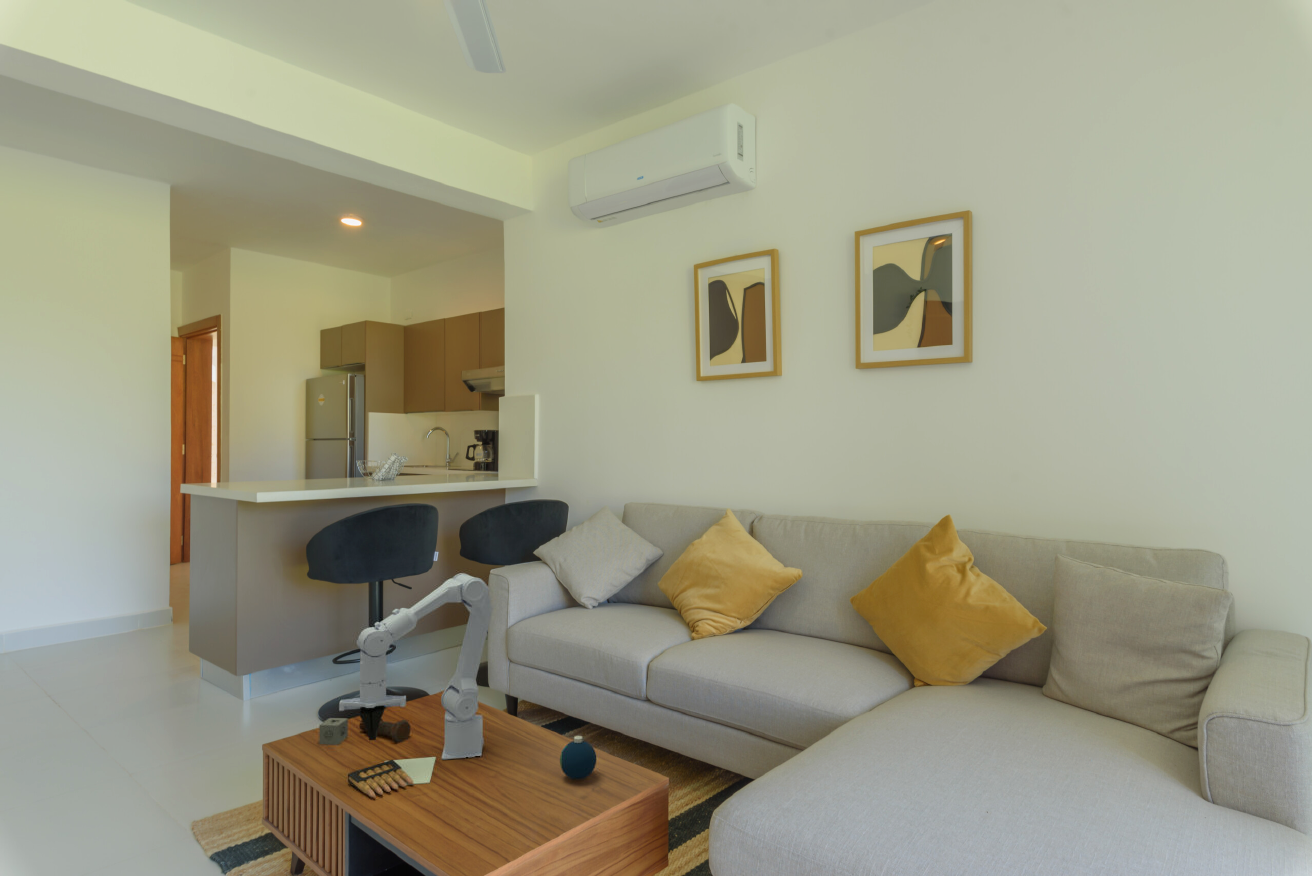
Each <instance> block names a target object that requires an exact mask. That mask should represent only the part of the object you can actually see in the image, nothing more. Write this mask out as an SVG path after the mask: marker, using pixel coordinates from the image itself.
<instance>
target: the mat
mask: <svg viewBox="0 0 1312 876" xmlns="http://www.w3.org/2000/svg"><path fill="white" fill-rule="evenodd" d="M436 759H437V757H436V756H430V757H416V758H406V759H392V760H393V761H395V762H396V763H397V764H398V765H399V766H400V767H401V768H402V770H403V771H404V772H405V773H407V775H408V776H409V777H410V778H411V779H412V780H413V784H409V783H407V782H405V781H404V780H403V781H404V782H405V784H406V786H409V785H411V786H412V785H422V784H430V782H431V778H432V775H433V770H434V766H435V764H436ZM386 761H387V760H384V762H386ZM401 768H400V769H401ZM396 784H397V783H396ZM397 786H398V787H399V786H400V785H399V784H397ZM400 787H401V786H400Z"/></svg>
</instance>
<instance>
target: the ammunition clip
mask: <svg viewBox="0 0 1312 876" xmlns="http://www.w3.org/2000/svg"><path fill="white" fill-rule="evenodd" d="M393 760H394V759H390V760H385V761H386V762H385V761H383V762H381V763H378V764H377V763H376V764H374V765H370V766H367V767H365V768H361V769H358V770H354V771H352V772H349V773H348V774H347V783H348V784H350V785H351V786H353V787H354V788H356V790H360V791H361V792H362V793H364V794H366V795H368V796H369V797H370V798H376V794H378V795H380V796H381V795H384V792H388V793H391V792H392V790H391V788H392V789H393V790H399V786H397V784H399V785H400V787H403V788H405V787H407V785H406V784H405V782H407V783H409V784H412V785H414V784H413V780H412V779H411V778H410V777H409V776H408V775H407V773H405V772H404V771H403V770H402V768H401V767H400V766H399V765H398V764H397V763H396V762H395V761H393ZM400 768H401V769H400ZM403 780H404V781H405V782H404V781H403ZM396 783H397V784H396ZM383 790H384V791H383Z"/></svg>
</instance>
